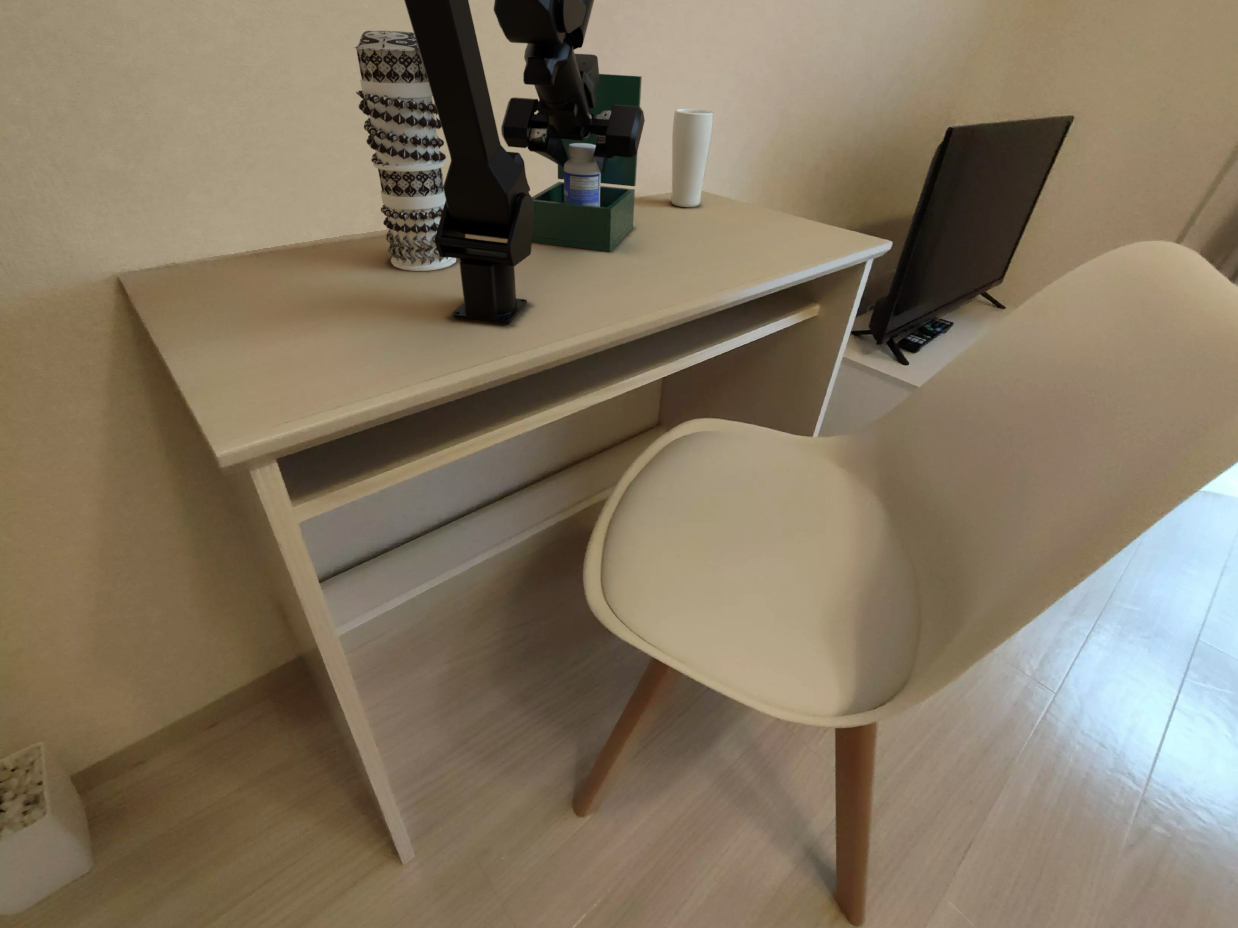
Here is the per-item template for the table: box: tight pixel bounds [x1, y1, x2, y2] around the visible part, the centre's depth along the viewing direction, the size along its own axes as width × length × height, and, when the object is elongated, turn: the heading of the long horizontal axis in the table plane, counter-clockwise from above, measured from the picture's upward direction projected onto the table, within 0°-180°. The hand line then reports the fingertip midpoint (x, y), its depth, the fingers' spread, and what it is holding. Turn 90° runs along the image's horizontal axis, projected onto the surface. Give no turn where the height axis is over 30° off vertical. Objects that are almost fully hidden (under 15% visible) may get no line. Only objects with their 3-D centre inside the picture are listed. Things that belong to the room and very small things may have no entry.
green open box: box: [531, 181, 636, 252], centre depth 92 cm, size 14×13×6 cm
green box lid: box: [557, 73, 643, 187], centre depth 93 cm, size 14×13×4 cm
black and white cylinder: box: [353, 30, 458, 272], centre depth 74 cm, size 9×9×25 cm
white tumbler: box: [670, 108, 714, 208], centre depth 108 cm, size 7×7×15 cm
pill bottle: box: [563, 143, 601, 207], centre depth 89 cm, size 5×5×10 cm
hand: (585, 167), depth 90 cm, fingers closed on pill bottle, 5 cm apart
